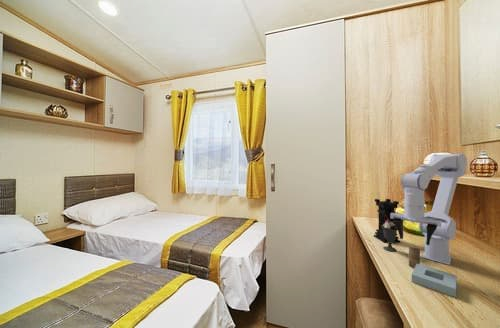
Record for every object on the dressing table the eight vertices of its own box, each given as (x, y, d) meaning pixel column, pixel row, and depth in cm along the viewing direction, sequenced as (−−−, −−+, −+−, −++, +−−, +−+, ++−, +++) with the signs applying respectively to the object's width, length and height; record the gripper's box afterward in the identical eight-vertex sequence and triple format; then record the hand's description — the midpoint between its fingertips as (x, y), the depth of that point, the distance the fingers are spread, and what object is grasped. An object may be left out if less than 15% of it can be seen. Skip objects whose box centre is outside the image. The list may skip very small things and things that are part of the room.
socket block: (416, 270, 71) (416, 263, 71) (456, 282, 63) (456, 275, 63) (411, 281, 64) (411, 274, 64) (455, 297, 56) (455, 289, 56)
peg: (409, 263, 75) (409, 245, 75) (420, 266, 73) (420, 248, 73) (408, 266, 73) (408, 248, 73) (419, 270, 71) (419, 251, 71)
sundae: (381, 244, 92) (381, 213, 92) (399, 248, 88) (399, 215, 88) (380, 249, 87) (379, 216, 87) (398, 254, 83) (398, 219, 83)
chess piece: (400, 242, 94) (400, 201, 94) (383, 242, 94) (383, 202, 94) (388, 236, 102) (388, 198, 102) (373, 236, 102) (373, 198, 102)
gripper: (388, 203, 75) (388, 238, 76) (440, 210, 65) (440, 250, 65) (392, 201, 80) (392, 233, 80) (441, 207, 69) (441, 244, 69)
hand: (414, 241), depth 73 cm, fingers open, 7 cm apart
